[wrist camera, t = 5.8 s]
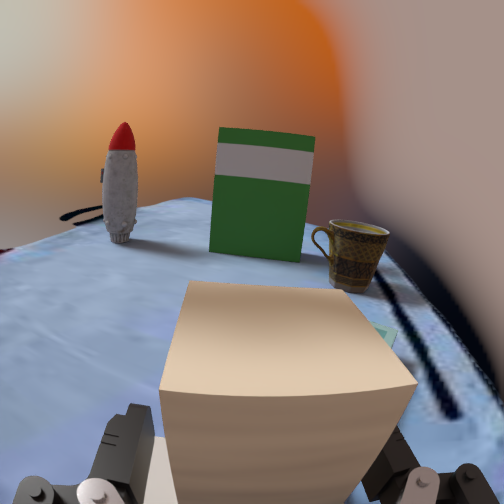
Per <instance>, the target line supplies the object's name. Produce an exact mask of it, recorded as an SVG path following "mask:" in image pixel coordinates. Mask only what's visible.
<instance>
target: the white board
mask: <svg viewBox="0 0 504 504" xmlns="http://www.w3.org/2000/svg"><path fill="white" fill-rule="evenodd" d="M143 504H178V501H177V497H176V493H175V488H174V483H173V478H172V473H171V468H170V463H169V457H168V451H167V445H166V439H165V438H163V437H155V440H154V447H153V452H152V457H151V463H150V468H149V473H148V479H147V485H146V491H145V497H144V503H143ZM343 504H344V503H343Z"/></svg>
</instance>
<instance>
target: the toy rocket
mask: <svg viewBox="0 0 504 504" xmlns="http://www.w3.org/2000/svg"><path fill="white" fill-rule="evenodd" d="M136 158H137V155H136V154H135V140H134V136H133V133H132V130H131V128H130V126H129V125H128V123H126V122H124V123H122V124H121V125H120V126H119V127H118V129H117V130H116V132H115V133H114V135H113V137H112V139H111V142H110V145H109V152H108V154H107V156H106V162H105V168H104V169H101V181H100V182H101V183H103V188H102V201H103V214H104V219H103V221H104V223H105V225H106V229H107V231H108V232H109V233H110V239H111V241H112V242H115V243H124V242H127V241H129V236H130V232H132V231H133V227H134V224H136V223H137V220H136V219H135V216H136V208H137V193H138V174H137V162H136Z"/></svg>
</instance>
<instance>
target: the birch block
mask: <svg viewBox="0 0 504 504" xmlns="http://www.w3.org/2000/svg"><path fill="white" fill-rule="evenodd" d="M417 385H418V382H417V381H416V380H415V379H414V377H413V376H412V375H411V373H410V372H409V371H408V370H407V368H406V367H405V366H404V364H403V363H402V362H401V361H400V359H399V358H398V357H397V356H396V354H395V353H394V352H393V351H392V349H391V348H390V347H389V346H388V344H387V343H386V342H385V341H384V339H383V338H382V337H381V336H380V334H379V333H378V332H377V331H376V329H375V328H374V327H373V326H372V325H371V323H370V322H369V321H368V320H367V318H366V317H365V316H364V315H363V314H362V312H361V311H360V310H359V309H358V308H357V306H356V305H355V304H354V303H353V302H352V300H351V299H350V298H349V297H348V296H347V295H346V293H345V292H344V291H343V290H342V289H319V288H298V287H279V286H261V285H245V284H230V283H216V282H203V281H189V284H188V287H187V291H186V294H185V297H184V301H183V304H182V307H181V311H180V314H179V318H178V321H177V325H176V328H175V332H174V335H173V339H172V342H171V346H170V349H169V353H168V357H167V360H166V364H165V368H164V372H163V375H162V379H161V383H160V387H159V396H160V404H161V412H162V419H163V426H164V433H165V439H166V445H167V451H168V457H169V463H170V468H171V473H172V478H173V483H174V488H175V493H176V497H177V501H178V504H343V503H344V502H345V501H346V499H347V498H348V497H349V495H350V494H351V493H352V492H353V490H354V489H355V488H356V486H357V485H358V484H359V482H360V481H361V479H362V478H363V477H364V475H365V474H366V472H367V471H368V469H369V468H370V467H371V465H372V464H373V462H374V461H375V459H376V458H377V456H378V455H379V453H380V451H381V450H382V448H383V447H384V445H385V443H386V442H387V440H388V439H389V437H390V435H391V434H392V432H393V430H394V428H395V427H396V425H397V423H398V421H399V420H400V418H401V416H402V414H403V412H404V411H405V409H406V407H407V405H408V403H409V401H410V399H411V397H412V395H413V393H414V391H415V389H416V387H417Z"/></svg>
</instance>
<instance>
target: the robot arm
mask: <svg viewBox="0 0 504 504" xmlns="http://www.w3.org/2000/svg"><path fill="white" fill-rule="evenodd" d="M154 440H155V432H154V425H153V420H152V414H151V408H150V406H145V405H139V404H132V403H131V404H130V405H129V407H128V410H127V413H126V416H125V415H119V414H116V415H115V416H114V417H113V418H112V419H111V420H110V421H109V422H108V423H107V426H106V429H105V431H104V435H103V437H102V440H101V444H100V445H99V448H98V451H97V454H96V457H95V460H94V463H93V466H92V469H91V472H90V474H89V476H88V478H87V479H86V480H85V481H83V482H82V483H80V484H77V485H72V486H66V485H51V484H50V483H49V482H48V481H47V480H45V479H44V478H42V477H39V476H28V477H26V478H24V479H23V480H22V481H21V482H20V484H19V486H18V489H17V492H16V495H15V497H14V500H13V503H12V504H143V503H144V497H145V491H146V485H147V479H148V473H149V468H150V463H151V457H152V452H153V447H154ZM361 482H362V484H363V487H364V489H365V492H366V494H367V497H368V499H369V502H372V501H376V500H380V502H381V504H500V503H499V502H498V500H497V498H496V496H495V494H494V493H493V491H492V489H491V487H490V486H489V484H488V482H487V480H486V479H485V477H484V475H483V474H482V472H481V470H480V469H479V468H478V467H477V466H476V465H474V464H470V463H466V464H462V465H461V466H459V467H458V469H457V470H456V471H455V472H452V473H436V472H435V471H434V470H433V469H431V468H428V467H421V466H420V464H419V463H418V461H417V459H416V457H415V456H414V454H413V452H412V450H411V449H410V447H409V445H408V444H407V442H406V440H404V437H403V435H402V433H400V430H399V428H398V426H397V425H396V427H395V428H394V430H393V432H392V434H391V435H390V437H389V439H388V440H387V442H386V443H385V445H384V447H383V448H382V450H381V451H380V453H379V455H378V456H377V458H376V459H375V461H374V462H373V464H372V465H371V467H370V468H369V469H368V471H367V472H366V474H365V475H364V477H363V478H362V479H361Z"/></svg>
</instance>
